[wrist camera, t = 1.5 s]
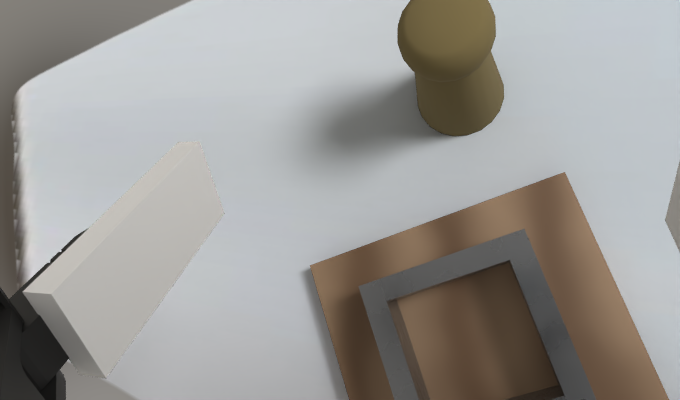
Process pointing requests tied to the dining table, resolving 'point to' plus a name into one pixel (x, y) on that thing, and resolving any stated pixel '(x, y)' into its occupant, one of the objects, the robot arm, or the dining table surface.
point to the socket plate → (486, 308)
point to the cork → (452, 63)
